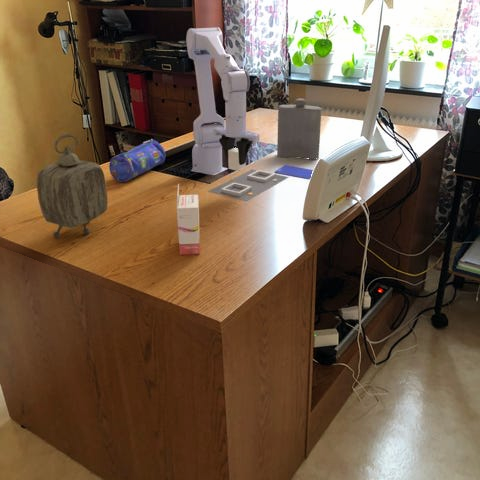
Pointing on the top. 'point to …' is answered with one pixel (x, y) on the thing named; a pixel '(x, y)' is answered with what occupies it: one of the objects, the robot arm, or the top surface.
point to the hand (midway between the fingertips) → (236, 162)
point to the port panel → (248, 184)
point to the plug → (234, 160)
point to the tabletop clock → (71, 190)
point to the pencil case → (136, 161)
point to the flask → (299, 130)
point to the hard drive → (295, 171)
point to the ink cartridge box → (188, 223)
